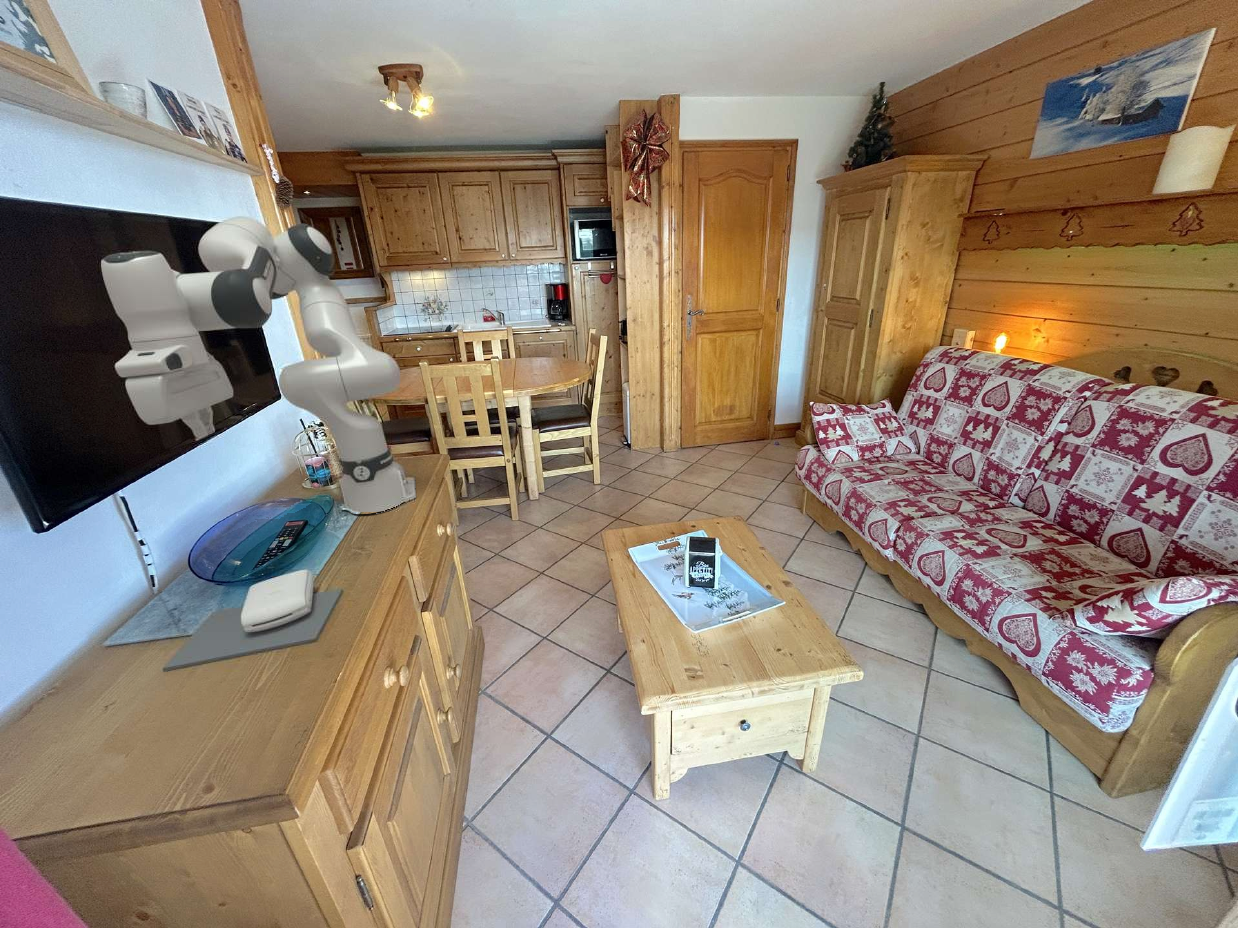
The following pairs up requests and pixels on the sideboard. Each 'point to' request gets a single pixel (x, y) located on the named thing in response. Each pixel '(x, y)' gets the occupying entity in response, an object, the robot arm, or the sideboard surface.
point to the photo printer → (278, 601)
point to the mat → (251, 634)
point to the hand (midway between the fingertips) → (205, 435)
